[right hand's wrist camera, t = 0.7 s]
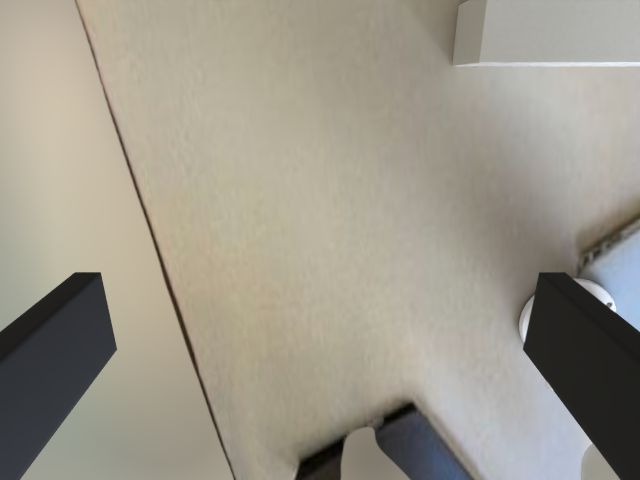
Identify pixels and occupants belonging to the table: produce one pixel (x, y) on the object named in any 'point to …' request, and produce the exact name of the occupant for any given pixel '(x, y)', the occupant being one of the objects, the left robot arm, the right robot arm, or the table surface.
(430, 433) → the table surface
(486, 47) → the bar
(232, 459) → the table surface
